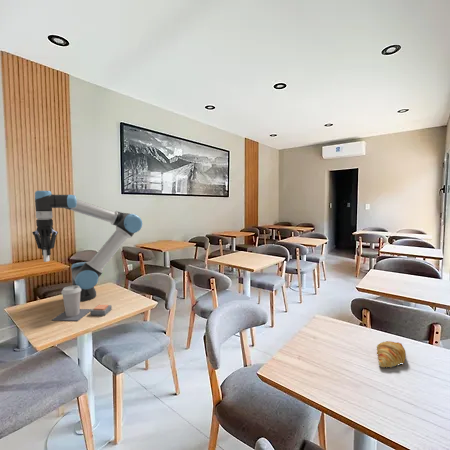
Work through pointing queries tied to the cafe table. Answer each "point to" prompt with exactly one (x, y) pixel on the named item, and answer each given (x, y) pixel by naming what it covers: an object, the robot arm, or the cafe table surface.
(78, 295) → the coffee cup
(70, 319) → the mat
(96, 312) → the button housing
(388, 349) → the croissant
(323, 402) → the cafe table surface
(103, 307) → the button
